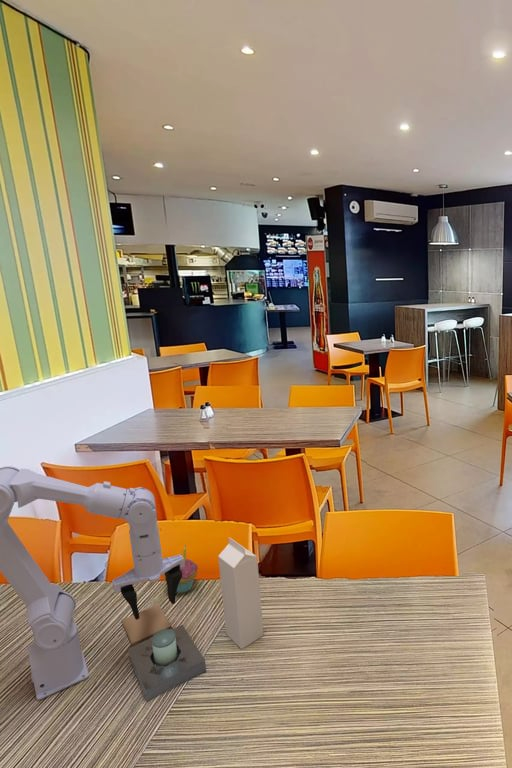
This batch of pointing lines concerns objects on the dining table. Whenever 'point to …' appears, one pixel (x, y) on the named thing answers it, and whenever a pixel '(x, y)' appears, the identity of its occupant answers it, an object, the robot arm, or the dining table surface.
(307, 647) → the dining table surface
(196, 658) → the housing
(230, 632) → the milk
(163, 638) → the cylinder
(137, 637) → the coaster
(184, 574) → the cupcake
